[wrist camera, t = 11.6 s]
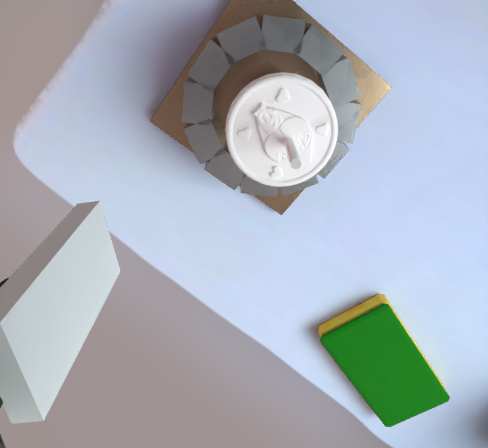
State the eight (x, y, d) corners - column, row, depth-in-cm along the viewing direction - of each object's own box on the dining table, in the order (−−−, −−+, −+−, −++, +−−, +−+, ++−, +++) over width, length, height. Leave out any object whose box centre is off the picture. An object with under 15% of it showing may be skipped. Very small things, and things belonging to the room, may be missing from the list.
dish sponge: (380, 410, 49) (387, 429, 47) (315, 324, 44) (319, 340, 42) (442, 383, 47) (451, 400, 45) (381, 289, 43) (388, 304, 40)
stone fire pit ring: (252, -33, 31) (253, -41, 27) (388, 85, 34) (407, 94, 30) (152, 118, 36) (139, 131, 32) (280, 210, 39) (284, 233, 35)
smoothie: (271, 161, 36) (284, 241, 23) (213, 103, 34) (191, 156, 21) (333, 103, 34) (384, 156, 21) (274, 38, 32) (291, 53, 20)
